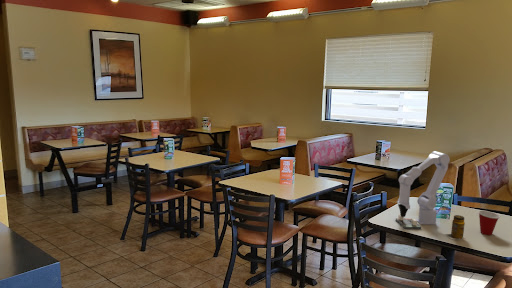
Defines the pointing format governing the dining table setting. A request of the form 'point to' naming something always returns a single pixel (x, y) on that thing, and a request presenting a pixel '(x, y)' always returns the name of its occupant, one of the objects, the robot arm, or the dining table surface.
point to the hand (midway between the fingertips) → (402, 216)
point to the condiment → (457, 228)
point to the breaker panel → (407, 224)
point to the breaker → (414, 221)
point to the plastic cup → (487, 222)
